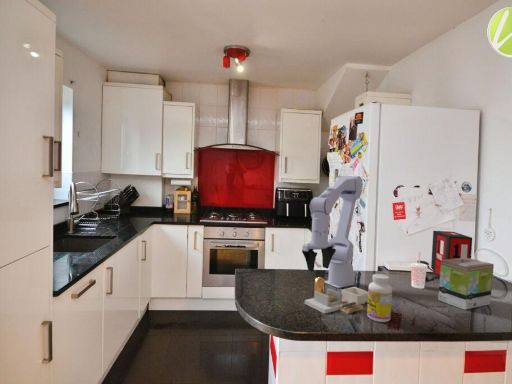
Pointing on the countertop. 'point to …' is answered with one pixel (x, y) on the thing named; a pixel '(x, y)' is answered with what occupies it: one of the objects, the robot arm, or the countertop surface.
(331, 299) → the pad
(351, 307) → the trough
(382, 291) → the supplement bottle
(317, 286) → the cell
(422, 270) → the beverage cup
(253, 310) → the countertop surface
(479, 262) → the tea box
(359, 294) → the white square open box
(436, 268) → the cleaning product box
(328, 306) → the white compartment tray
